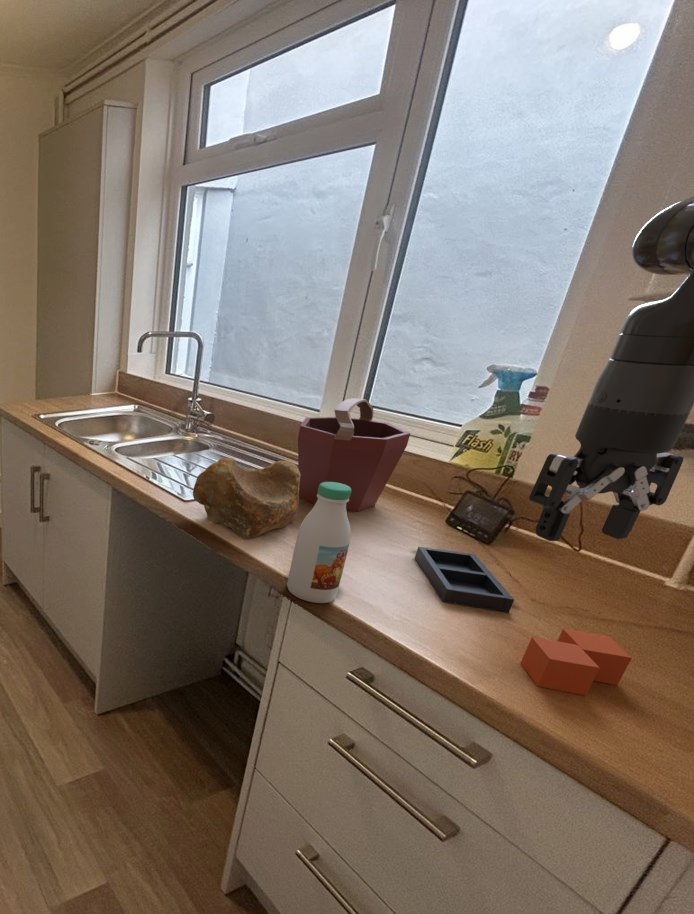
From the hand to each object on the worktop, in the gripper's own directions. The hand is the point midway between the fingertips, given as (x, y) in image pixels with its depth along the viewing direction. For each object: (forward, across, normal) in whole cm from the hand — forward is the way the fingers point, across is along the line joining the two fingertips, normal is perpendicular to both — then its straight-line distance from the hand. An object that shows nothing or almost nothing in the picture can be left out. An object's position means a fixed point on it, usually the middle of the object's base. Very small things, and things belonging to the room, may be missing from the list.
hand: (579, 537), depth 63 cm
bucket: (+22, +15, +66) cm, 71 cm away
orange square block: (+21, +4, 0) cm, 22 cm away
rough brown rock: (+22, -14, +50) cm, 56 cm away
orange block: (+21, +10, +1) cm, 24 cm away
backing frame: (+21, +12, +24) cm, 35 cm away
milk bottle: (+22, -16, +23) cm, 35 cm away
